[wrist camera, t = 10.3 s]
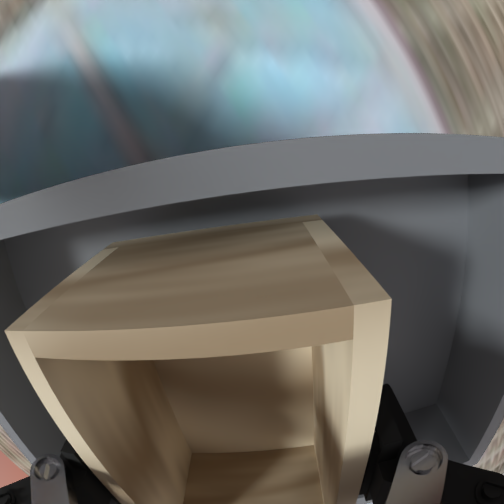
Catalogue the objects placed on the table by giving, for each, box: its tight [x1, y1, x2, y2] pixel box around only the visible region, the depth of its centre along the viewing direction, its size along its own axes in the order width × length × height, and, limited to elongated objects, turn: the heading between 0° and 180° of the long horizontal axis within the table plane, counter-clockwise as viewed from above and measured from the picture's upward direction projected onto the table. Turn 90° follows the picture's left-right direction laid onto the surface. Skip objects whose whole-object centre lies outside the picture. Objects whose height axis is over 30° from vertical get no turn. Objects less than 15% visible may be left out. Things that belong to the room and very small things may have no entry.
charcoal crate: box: [0, 133, 504, 504], centre depth 12 cm, size 16×24×6 cm, turn 98°
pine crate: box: [5, 215, 392, 504], centre depth 9 cm, size 11×7×6 cm, turn 8°
